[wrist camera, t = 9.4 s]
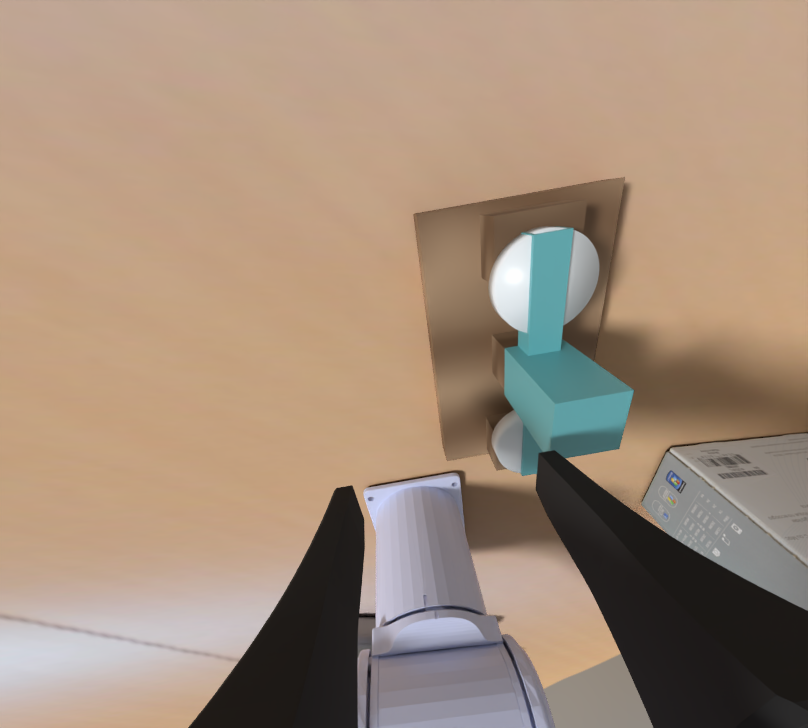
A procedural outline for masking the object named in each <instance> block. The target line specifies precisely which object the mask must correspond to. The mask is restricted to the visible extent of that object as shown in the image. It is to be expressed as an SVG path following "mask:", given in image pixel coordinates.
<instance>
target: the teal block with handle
mask: <svg viewBox="0 0 808 728" xmlns="http://www.w3.org/2000/svg"><path fill="white" fill-rule="evenodd" d="M573 229H574V228H569V227H560V226H556V227H552V226H544V227H538V228H534V229H531V230H528V231H526V232H522V233H521V234H520V235H519V236H517V237H516V238H514V239H513V240H512V241H511V242H510V243H508V244H507V246H506V247H505V248H504V249H503V250H502V251H501V253H500V254H499V256H498V257H497V259H496V261H495V263H494V265H493V267H492V270H491V273H490V277H489V286H488V290H489V297H490V301H491V304H492V306H493V308H494V310H495V311H496V312H497V314H498V315H499V316H500V317H501V318H502V319H503V320H505V321H506V322H507V323H508V324H509V325H510V326H512V327H513V328H515V329H517V330H518V346H514V347H508V348H505V377H504V395H505V397H506V398H507V400H508V401H509V403H510V404H511V406H512V407H513V409H514V410H513V411H511V412H509V413H508V414H507V415H505V416H504V417H503V418H502V419H501V420H500V421H499V422H498V424H497V425H496V427H495V428H494V431H493V433H492V439H491V441H492V446H493V449H494V451H495V453H496V455H497V457H498V459H499V461H500V463H501V464H502V465H503V466H504V467H505V468H507V469H508V470H511V471H513V472H518V473H521V475H522V476H525V475H531V474H537V467H538V454H539V453H541V452H546V451H552V450H555V451H556V452H558V453H559V454H560V455H561V456H563V457H564V458H569V457H575V456H581V455H587V454H592V453H598V452H604V451H610V450H615V449H619V447H620V443H621V439H622V435H623V431H624V428H625V424H626V420H627V416H628V412H629V408H630V404H631V400H632V396H633V393H634V390H633V389H632V388H630V387H629V386H627V385H626V384H625V383H623V382H622V381H620V380H619V379H618V378H616V377H615V376H613V375H612V374H611V373H609V372H608V371H606V370H605V369H604V368H602V367H601V366H599V365H598V364H597V363H595V362H594V361H592V360H591V359H590V358H588V357H587V356H585V355H584V354H583V353H581V352H580V351H578V350H577V349H576V348H574V347H573V346H571V345H570V344H569V343H567V342H566V341H564V340H563V339H562V332H563V325H565V324H567V323H568V322H570V321H571V320H572V319H574V318H575V317H576V316H577V315H578V314H579V313H580V312H581V311H582V310H583V309H584V307H585V306H586V305H587V303H588V302H589V300H590V299H591V297H592V295H593V293H594V291H595V288H596V285H597V282H598V277H599V259H598V254H597V252H596V249H595V247H594V245H593V244H592V242H591V241H590V240H589V239H588V238H587V237H586V236H585V235H583V234H582V233H580V232H578V231H576V230H573Z"/></svg>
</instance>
